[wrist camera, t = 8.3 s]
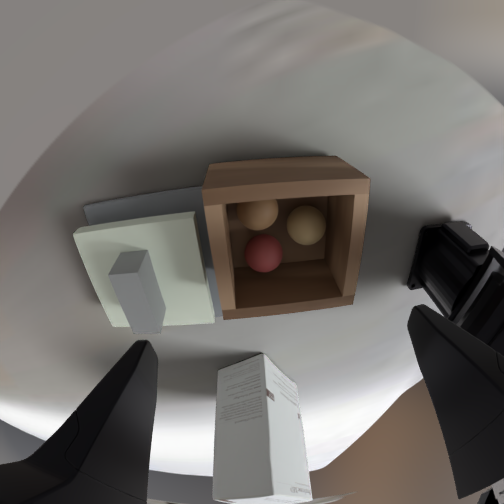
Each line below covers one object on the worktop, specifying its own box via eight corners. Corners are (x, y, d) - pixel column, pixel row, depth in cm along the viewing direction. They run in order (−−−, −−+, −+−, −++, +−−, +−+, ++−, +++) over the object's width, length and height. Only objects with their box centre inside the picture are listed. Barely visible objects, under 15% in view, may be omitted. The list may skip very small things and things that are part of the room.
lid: (215, 305, 22) (213, 348, 19) (119, 310, 22) (104, 349, 18) (196, 205, 18) (187, 238, 14) (84, 221, 18) (55, 253, 14)
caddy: (330, 260, 21) (352, 304, 17) (224, 271, 21) (223, 319, 16) (336, 155, 17) (370, 178, 12) (209, 164, 17) (201, 189, 12)
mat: (307, 304, 24) (308, 307, 23) (128, 318, 23) (126, 321, 23) (312, 176, 18) (313, 178, 17) (85, 204, 17) (83, 207, 17)
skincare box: (296, 382, 30) (319, 499, 18) (253, 398, 32) (263, 509, 19) (260, 348, 26) (278, 498, 14) (211, 369, 28) (210, 504, 15)
